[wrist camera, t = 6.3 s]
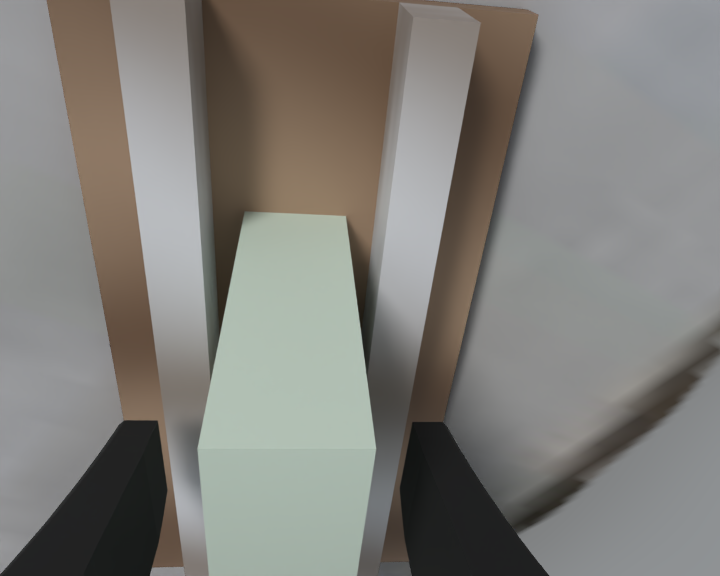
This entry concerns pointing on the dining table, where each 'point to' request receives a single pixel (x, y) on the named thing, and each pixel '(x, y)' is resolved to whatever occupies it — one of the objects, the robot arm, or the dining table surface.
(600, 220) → the dining table surface
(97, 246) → the door track
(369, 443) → the door panel
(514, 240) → the dining table surface
